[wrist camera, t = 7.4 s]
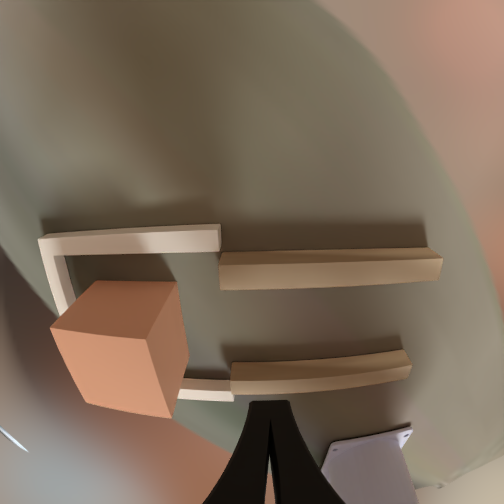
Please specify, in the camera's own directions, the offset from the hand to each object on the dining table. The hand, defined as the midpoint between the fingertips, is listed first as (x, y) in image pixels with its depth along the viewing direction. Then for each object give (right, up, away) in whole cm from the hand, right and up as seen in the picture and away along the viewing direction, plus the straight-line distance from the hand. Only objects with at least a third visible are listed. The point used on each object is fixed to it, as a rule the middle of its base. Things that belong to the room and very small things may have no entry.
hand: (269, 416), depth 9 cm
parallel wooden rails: (+4, +2, +6) cm, 7 cm away
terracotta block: (-7, +2, +6) cm, 10 cm away
